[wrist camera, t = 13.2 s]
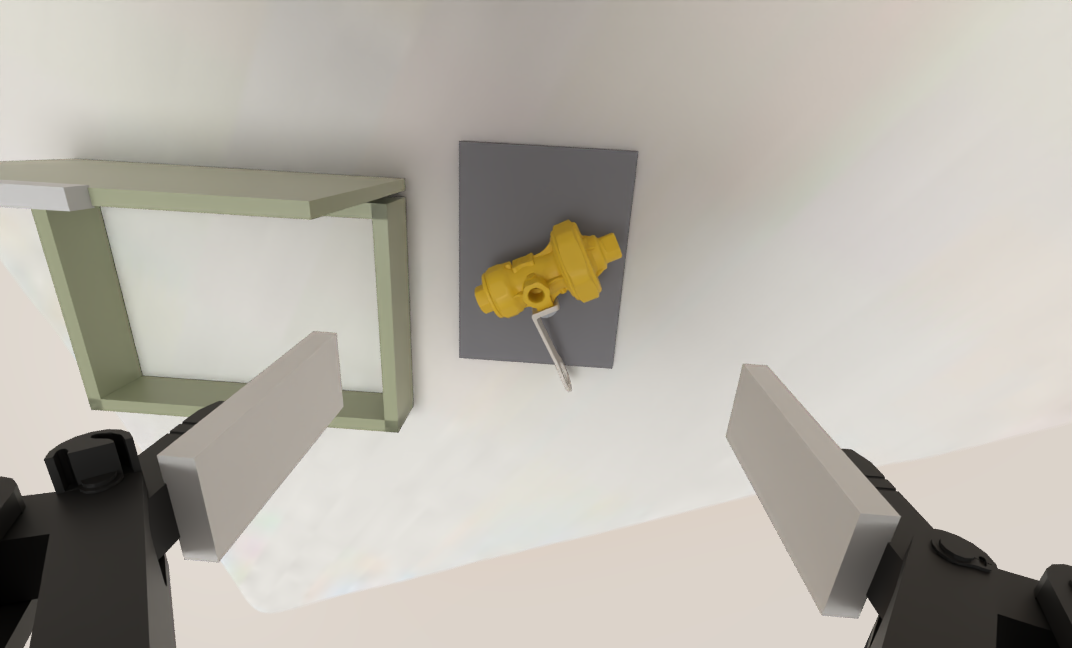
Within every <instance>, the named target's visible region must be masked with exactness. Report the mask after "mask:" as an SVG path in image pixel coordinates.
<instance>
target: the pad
mask: <svg viewBox="0 0 1072 648" xmlns="http://www.w3.org/2000/svg"><path fill="white" fill-rule="evenodd" d="M637 158H638V151H623V150H606V149H589V148H571V147H554V146H537V145H519V144H502V143H485V142H468V141H459V358H469V359H483V360H497V361H511V362H526V363H540V364H554V365H555V363H554V361H553V359H552V357H551V355H550V353H549V351H548V349H547V347H546V345H545V343H544V341H543V339H542V337H541V335H540V333H539V331H538V329H537V327H536V325H535V323H534V321H533V319H532V307H526V308H524V310H523V311H522V312H520V313H519V314H518V315H515V316H513V317H510V318H505V317H503V318H499V317H498V316H497V315H496V314H495V313H494V311H492V312H490V313H487V314H486V313H484V312H483V311H482V310H481V308H480V307H479V305H478V303H477V300H476V297H475V292H474V290H475V288H476V287H477V286H480V285H482V279H481V277H482V274H483V273H485V272H486V270H488V268H490V267H492V266H495V265H497V264H503V263H506V262H509V261H510V262H511V264H512V261H513V260H515V259H517V258H520V257H523V256H526V255H528V254H529V253H533V255H536V254H538V253H540V252H541V251H543V250H544V249H545V248H546V247H547V245H548V244H549V242H550V237H551V236H550V233H551V231H552V230H553V226H554V225H557V224H559V223H561V222H564V221H566V220H570V221H571V222H575V223H576V224H577V226H578V228H579V231H580V233H581V235H582V236H584V235H585V236H591V235H595V236H596V237H597V238H600V237H602V236H604V235H607V234H609V233H614V235H615V237H616V240H617V242H618V245H619V247H620V250H621V253H622V257H621V258H619V259H617V260H614V261H612V262H609V263H608V264H607V269H605V270H603V272H602V273H601V274H600V275H599V276H598V279H599V282H600V284H601V288H602V291H601V292H600V293H599V297H598V298H595V299H593V300H590V301H588V302H585V303H583V302H582V301H581V300H577V299H576V298H575V297H573V296H572V295H571V293H570V291H569V290H567V292H566V293H564V294H561V293H560V294H559V295H558V296H557V298H558V301H559V306H560V309H559V310H557V311H556V313H555V314H554V315H553V316H551V317H548V318H542V317H540V319H541V321H542V323H543V325H544V327H545V329H546V331H547V333H548V335H549V337H550V339H551V341H552V343H553V345H554V347H555V349H556V351H557V353H558V355H559V356H560V357H561V359H562V360H563V362H564V365H568V366H583V367H597V368H611V369H612V366H613V358H614V350H615V341H616V333H617V325H618V316H619V308H620V300H621V291H622V283H623V275H624V266H625V258H626V250H627V241H628V233H629V225H630V216H631V208H632V199H633V191H634V183H635V174H636V166H637Z"/></svg>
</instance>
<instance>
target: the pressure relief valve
mask: <svg viewBox="0 0 1072 648" xmlns="http://www.w3.org/2000/svg"><path fill="white" fill-rule="evenodd" d="M550 236H551V237H550V242H549V244H548V245H547V247H546V248H545V249H544V250H543V251H541V252H540V253H538V254H536V255H533V253H529V254H528V255H526V256H523V257H520V258H517V259H515V260H513V261H512V264H511V262H510V261H509V262H506V263H503V264H497V265H495V266H492V267H490V268H488V270H486V272H485V273H483V274H482V277H481V279H482V285H480V286H477V287H476V288H475V290H474V292H475V297H476V300H477V303H478V305H479V307H480V308H481V310H482V311H483V312H484V313H486V314H487V313H490V312H492V311H494V313H495V314H496V315H497V316H498V317H499V318H503V317H505V318H510V317H513V316H515V315H518V314H519V313H520V312H522V311H523V310H524V308H526V307H532V319H533V321H534V323H535V325H536V327H537V329H538V331H539V333H540V335H541V337H542V339H543V341H544V343H545V345H546V347H547V349H548V351H549V353H550V355H551V357H552V359H553V361H554V363H555V366H556V368H557V370H558V373H559V376H560V378H561V381H562V383H563V385H564V387H565V389H566V390H567V391H568V392H569V391H572V386H571V381H570V378H569V375H568V372H567V369H566V367H565V365H564V362H563V360H562V359H561V357H560V356H559V355H558V353H557V351H556V349H555V347H554V345H553V343H552V341H551V339H550V337H549V335H548V333H547V331H546V329H545V327H544V325H543V323H542V321H541V319H540V317H542V318H548V317H551V316H553V315H554V314H555V313H556V311H557V310H559V309H560V306H559V301H558V298H557V296H558V295H559V294H560V293H561V294H564V293H566V292H567V290H569V291H570V293H571V295H572V296H573V297H575V298H576V299H577V300H581V301H582V302H583V303H585V302H588V301H590V300H593V299H595V298H598V297H599V293H600V292H601V291H602V288H601V284H600V282H599V279H598V276H599V275H600V274H601V273H602V272H603V270H605V269H607V264H608V263H609V262H612V261H614V260H617V259H619V258H621V257H622V253H621V250H620V247H619V245H618V242H617V240H616V237H615V235H614V233H609V234H607V235H604V236H602V237H600V238H597V237H596V236H595V235H591V236H585V235H584V236H582V235H581V233H580V231H579V228H578V226H577V224H576V223H575V222H571V221H570V220H566V221H564V222H561V223H559V224H557V225H554V226H553V230H552V231H551V233H550ZM561 367H562V369H561ZM562 370H563V372H564V375H565V377H564V375H563V372H562ZM565 378H566V379H565Z"/></svg>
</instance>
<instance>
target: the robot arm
mask: <svg viewBox="0 0 1072 648" xmlns="http://www.w3.org/2000/svg"><path fill="white" fill-rule="evenodd" d="M343 407H344V406H343V395H342V385H341V374H340V363H339V353H338V342H337V333H330V332H317V331H313V332H312V333H311V334H309V335H308V336H307V337H305V338H304V339H303V340H302V341H300V342H299V343H298V344H297V345H295V346H294V347H293V348H292V349H290V350H289V351H288V352H287V353H285V354H284V355H283V356H282V357H280V358H279V359H278V360H276V361H275V362H274V363H273V364H271V365H270V366H269V367H268V368H266V369H265V370H264V371H263V372H261V373H260V374H259V375H258V376H256V377H255V378H254V379H252V380H251V381H250V382H249V383H247V384H246V385H245V386H244V387H242V388H241V389H240V390H239V391H237V392H236V393H235V394H234V395H232V396H231V397H230V398H229V399H227V400H226V401H217V402H215V403H213V404H210V405H208V406H206V407H204V408H202V409H199V410H198V411H196V412H195V413H194V414H192V415H191V416H190V417H188V418H187V419H186V420H184V421H183V423H182V424H179V425H178V426H176V427H175V428H174V429H172V430H171V431H170V434H166V435H165V436H163V437H162V438H161V439H159V440H158V441H157V442H155V443H154V444H153V445H151V446H150V447H149V448H147V449H146V450H145V451H143V452H142V453H141V454H140V455H137V451H136V448H135V444H134V440H133V437H132V436H131V434H130V432H127V431H123V430H111V429H107V430H101V431H95V432H90V433H87V434H84V435H80V436H77V437H74V438H72V439H70V440H68V441H65V442H63V443H61V444H59V445H58V446H56V447H55V448H54V449H52V450H51V451H49V453H48V454H47V456H46V458H45V459H44V461H45V464H46V466H47V469H48V472H49V475H50V477H51V480H52V483H53V485H54V488H55V491H56V492H52V493H43V494H36V495H27V496H21V493H20V491H19V488H18V486H17V484H16V482H15V481H14V480H13V479H12V478H7V477H0V648H23V647H24V646H25V643H26V642H27V640H28V638H29V636H30V634H31V632H32V637H31V641H30V647H29V648H176V641H175V632H174V631H175V630H174V620H173V609H172V597H171V586H170V576H169V565H168V561H167V558H166V554H165V553H166V552H167V551H168V549H170V548H171V547H172V545H173V544H174V543H175V542H176V541H177V540H178V539H179V541H180V545H181V549H182V552H183V556H184V559H185V560H195V561H208V562H219V561H220V560H221V559H222V557H223V556H224V555H225V554H226V552H227V551H228V550H229V549H230V547H231V546H232V545H233V544H234V542H235V541H236V540H237V539H238V538H239V536H240V535H241V534H242V533H243V531H244V530H245V529H246V528H247V526H248V525H249V524H250V523H251V521H252V520H253V519H254V518H255V516H256V515H257V514H258V513H259V511H260V510H261V509H262V508H263V506H264V505H265V504H266V503H267V501H268V500H269V499H270V498H271V496H272V495H273V494H274V493H275V491H276V490H277V489H278V488H279V486H280V485H281V484H282V483H283V481H284V480H285V479H286V478H287V476H288V475H289V474H290V473H291V471H292V470H293V469H294V468H295V466H296V465H297V464H298V463H299V462H300V460H301V459H302V458H303V457H304V455H305V454H306V453H307V452H308V450H309V449H310V448H311V447H312V445H313V444H314V443H315V442H316V440H317V439H318V438H319V437H320V435H321V434H322V433H323V432H324V430H325V429H326V428H327V427H328V425H329V424H330V423H331V422H332V420H333V419H334V418H335V417H336V415H337V414H338V413H339V412H340V410H341V409H342V408H343ZM726 438H727V440H728V442H729V444H730V446H731V448H732V450H733V451H734V453H735V455H736V457H737V459H738V461H739V463H740V464H741V466H742V468H743V470H744V472H745V474H746V476H747V477H748V479H749V481H750V483H751V485H752V487H753V489H754V490H755V492H756V494H757V496H758V498H759V500H760V501H761V503H762V505H763V507H764V509H765V511H766V513H767V515H768V516H769V518H770V520H771V522H772V524H773V526H774V528H775V529H776V531H777V533H778V535H779V537H780V539H781V540H782V542H783V544H784V546H785V548H786V550H787V552H788V553H789V555H790V557H791V559H792V561H793V563H794V565H795V566H796V568H797V570H798V572H799V574H800V576H801V578H802V579H803V581H804V583H805V585H806V587H807V589H808V591H809V592H810V594H811V596H812V598H813V600H814V602H815V603H816V605H817V607H818V609H819V611H820V613H821V615H823V616H835V617H845V618H857V619H858V618H859V616H860V613H861V611H862V609H863V606H864V604H865V601H866V599H867V597H868V599H869V600H870V602H871V604H872V605H873V607H874V608H875V610H876V611H877V613H878V614H879V615H878V618H877V620H876V622H875V624H874V627H873V629H872V631H871V633H870V636H869V638H868V640H867V643H866V645H865V647H864V648H1072V566H1069V565H1065V564H1053V565H1051V566H1050V567H1048V568H1047V569H1046V571H1045V572H1044V574H1043V576H1042V577H1041V579H1040V581H1038V580H1034V579H1031V578H1028V577H1024V576H1020V575H1017V574H1014V573H1010V572H1007V571H1003V570H1000V569H998V568H997V565H996V564H995V563H994V562H993V560H992V559H991V558H990V557H989V556H988V555H987V554H986V553H985V552H983V551H982V550H981V549H979V548H978V547H977V546H975V545H974V544H973V543H971V542H969V541H967V540H965V539H963V538H961V537H959V536H957V535H955V534H952V533H949V532H946V531H943V530H938V529H933V528H932V527H931V526H930V525H929V523H928V522H927V521H926V520H925V519H924V518H923V517H922V516H921V515H920V514H919V513H918V512H917V511H916V510H915V508H914V507H913V506H912V505H911V504H910V503H909V502H908V501H907V500H906V499H905V498H904V497H903V496H902V495H901V494H900V493H899V492H897V491H896V488H895V487H894V486H893V485H892V484H891V483H890V482H889V481H888V480H886V479H885V477H884V475H883V474H882V473H881V472H880V471H879V470H878V469H877V468H876V467H875V466H874V465H873V464H872V463H871V462H870V461H868V460H867V459H865V458H864V457H862V456H861V455H859V454H858V453H856V452H855V451H853V450H851V449H841V448H840V447H839V446H838V445H837V444H836V443H835V442H834V440H833V439H832V438H831V437H830V436H829V435H828V434H827V433H826V431H825V430H824V429H823V428H822V427H821V426H820V425H819V423H818V422H817V421H816V420H815V419H814V418H813V417H812V416H811V414H810V413H809V412H808V411H807V410H806V409H805V408H804V407H803V405H802V404H801V403H800V402H799V401H798V400H797V399H796V397H795V396H794V395H793V394H792V393H791V392H790V391H789V390H788V388H787V387H786V386H785V385H784V384H783V383H782V382H781V381H780V379H779V378H778V377H777V376H776V375H775V374H774V373H773V371H772V370H771V369H770V368H769V367H768V366H767V365H755V364H743V365H742V370H741V374H740V378H739V382H738V387H737V391H736V395H735V399H734V403H733V408H732V412H731V416H730V420H729V425H728V429H727V433H726Z"/></svg>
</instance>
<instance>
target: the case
mask: <svg viewBox="0 0 1072 648" xmlns="http://www.w3.org/2000/svg"><path fill="white" fill-rule="evenodd" d="M401 191H405V179H402V178H386V177H369V176H353V175H336V174H319V173H303V172H286V171H270V170H253V169H236V168H220V167H203V166H187V165H170V164H153V163H137V162H120V161H103V160H87V159H53V160H25V161H0V207H9V208H24V209H31V211H32V214H33V217H34V221H35V224H36V227H37V231H38V234H39V237H40V241H41V244H42V247H43V251H44V254H45V257H46V261H47V264H48V267H49V271H50V274H51V277H52V281H53V284H54V287H55V291H56V294H57V297H58V301H59V304H60V307H61V310H62V314H63V317H64V320H65V324H66V327H67V330H68V334H69V337H70V340H71V344H72V347H73V350H74V354H75V357H76V360H77V364H78V367H79V370H80V374H81V377H82V380H83V383H84V387H85V390H86V394H87V397H88V400H89V404H90V407H91V409H92V410H104V411H116V412H130V413H143V414H157V415H170V416H183V417H190V416H191V415H192V414H194V413H195V412H196V411H198V410H199V409H202V408H204V407H206V406H208V405H210V404H213V403H215V402H217V401H226V400H227V399H229V398H230V397H231V396H232V395H234V394H235V393H236V392H237V391H239V390H240V389H241V388H242V387H244V386H245V385H246V384H247V383H234V382H221V381H207V380H193V379H179V378H165V377H152V376H142V372H141V368H140V364H139V360H138V356H137V353H136V349H135V345H134V341H133V337H132V333H131V329H130V325H129V321H128V317H127V313H126V309H125V305H124V301H123V297H122V293H121V289H120V285H119V281H118V277H117V273H116V269H115V265H114V261H113V257H112V253H111V250H110V246H109V242H108V238H107V234H106V230H105V226H104V222H103V218H102V214H101V210H100V206H102V207H118V208H134V209H150V210H166V211H182V212H198V213H214V214H229V215H245V216H261V217H277V218H293V219H309V220H311V219H314V218H318V217H321V216H331V217H347V218H363V219H372V224H373V240H374V256H375V272H376V288H377V304H378V320H379V336H380V353H381V369H382V385H383V393H372V392H358V391H345V390H342V395H343V406H344V407H343V408H342V409H341V410H340V412H339V413H338V414H337V415H336V417H335V418H334V419H333V420H332V422H331V423H330V424H329V425H328V427H330V428H344V429H357V430H371V431H384V432H397V433H398V432H399V431H400V429H401V427H402V425H403V424H404V422H405V420H406V418H407V416H408V415H409V413H410V411H411V409H412V408H413V383H412V357H411V331H410V305H409V279H408V253H407V227H406V201H405V197H389V196H388V195H392V194H395V193H398V192H401Z"/></svg>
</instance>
